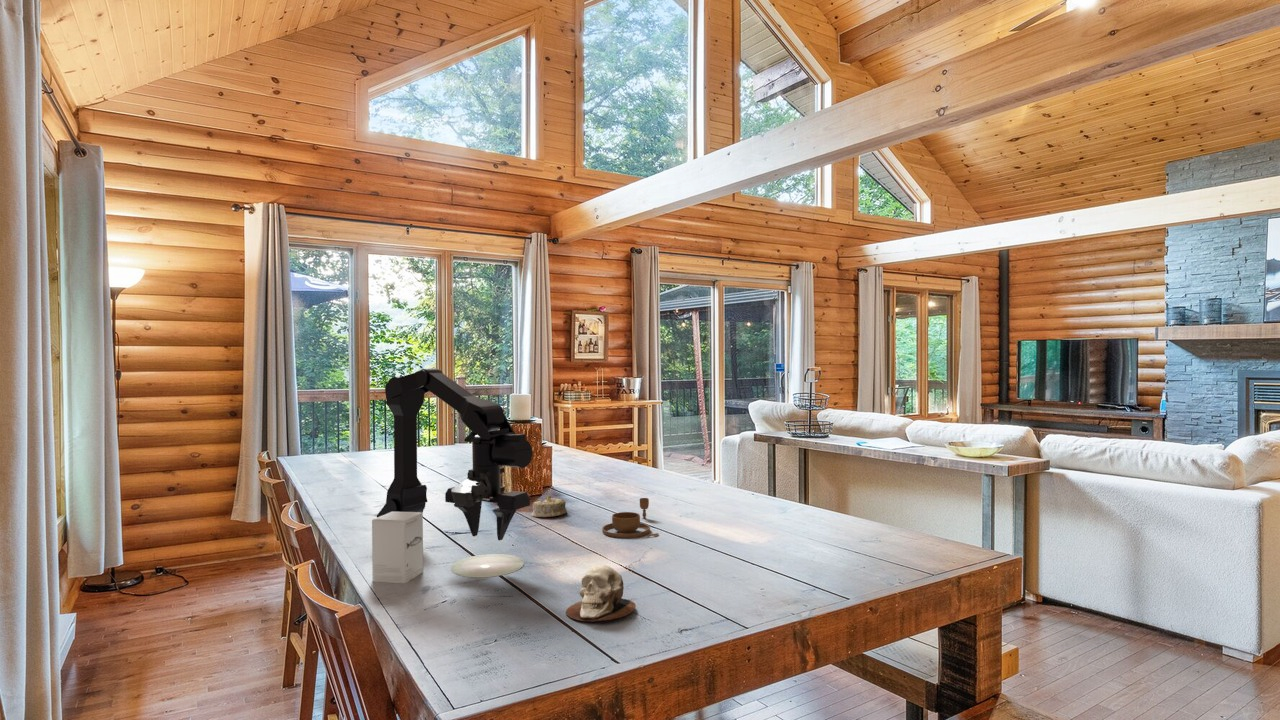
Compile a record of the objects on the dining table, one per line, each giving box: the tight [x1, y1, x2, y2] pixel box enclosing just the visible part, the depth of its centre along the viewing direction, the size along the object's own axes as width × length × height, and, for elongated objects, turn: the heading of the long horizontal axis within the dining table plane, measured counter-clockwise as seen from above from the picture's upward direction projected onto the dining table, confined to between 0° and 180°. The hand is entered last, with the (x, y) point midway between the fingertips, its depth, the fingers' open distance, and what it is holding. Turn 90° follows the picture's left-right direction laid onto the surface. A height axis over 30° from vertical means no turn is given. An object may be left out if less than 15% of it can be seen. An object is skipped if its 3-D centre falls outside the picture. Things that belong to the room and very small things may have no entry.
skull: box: [565, 564, 636, 623], centre depth 121 cm, size 12×10×10 cm
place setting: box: [601, 497, 659, 540], centre depth 177 cm, size 18×20×6 cm
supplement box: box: [371, 512, 424, 584], centre depth 141 cm, size 7×7×13 cm
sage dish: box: [450, 553, 525, 578], centre depth 148 cm, size 15×15×1 cm
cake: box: [530, 494, 568, 518], centre depth 194 cm, size 10×10×5 cm
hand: (487, 538), depth 147 cm, fingers open, 7 cm apart
